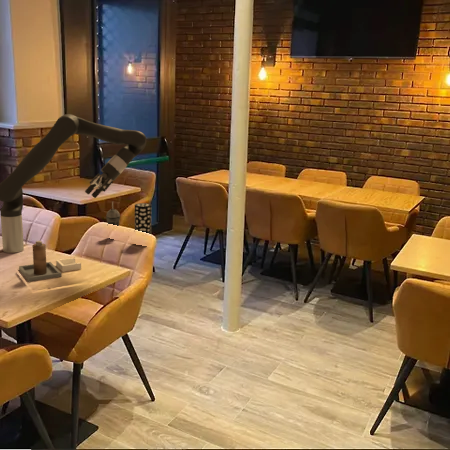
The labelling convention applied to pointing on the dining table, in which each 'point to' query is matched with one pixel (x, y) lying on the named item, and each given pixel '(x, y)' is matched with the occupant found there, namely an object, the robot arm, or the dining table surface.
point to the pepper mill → (39, 258)
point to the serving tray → (30, 276)
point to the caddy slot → (67, 264)
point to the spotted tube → (143, 217)
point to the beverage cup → (113, 216)
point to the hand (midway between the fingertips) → (89, 194)
